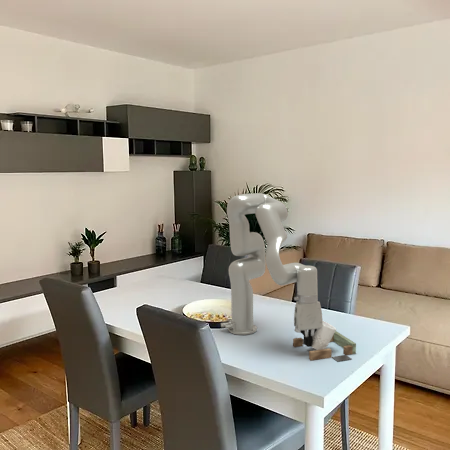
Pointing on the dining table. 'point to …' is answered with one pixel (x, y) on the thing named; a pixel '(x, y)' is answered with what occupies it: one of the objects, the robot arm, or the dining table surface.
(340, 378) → the dining table surface
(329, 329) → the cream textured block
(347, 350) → the brown and green pieces
